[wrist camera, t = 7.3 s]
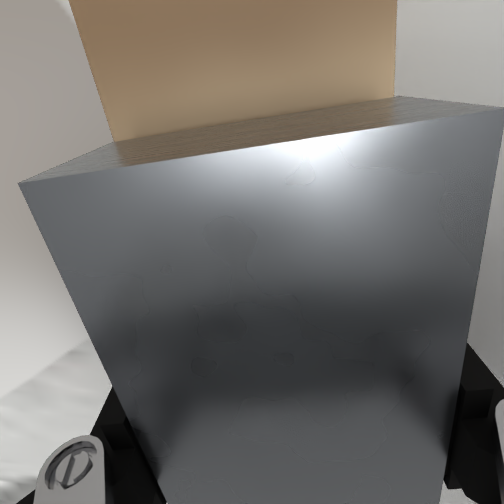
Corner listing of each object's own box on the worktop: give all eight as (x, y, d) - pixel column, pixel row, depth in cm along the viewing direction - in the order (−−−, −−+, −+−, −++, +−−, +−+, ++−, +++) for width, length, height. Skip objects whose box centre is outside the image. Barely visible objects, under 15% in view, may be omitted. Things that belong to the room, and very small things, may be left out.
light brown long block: (360, 438, 20) (380, 506, 17) (238, 449, 20) (234, 516, 17) (353, -140, 9) (405, -256, 6) (94, -85, 10) (16, -164, 6)
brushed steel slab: (362, 398, 16) (425, 584, 10) (227, 411, 16) (210, 595, 10) (360, 91, 10) (507, 107, 4) (149, 125, 10) (17, 183, 5)
